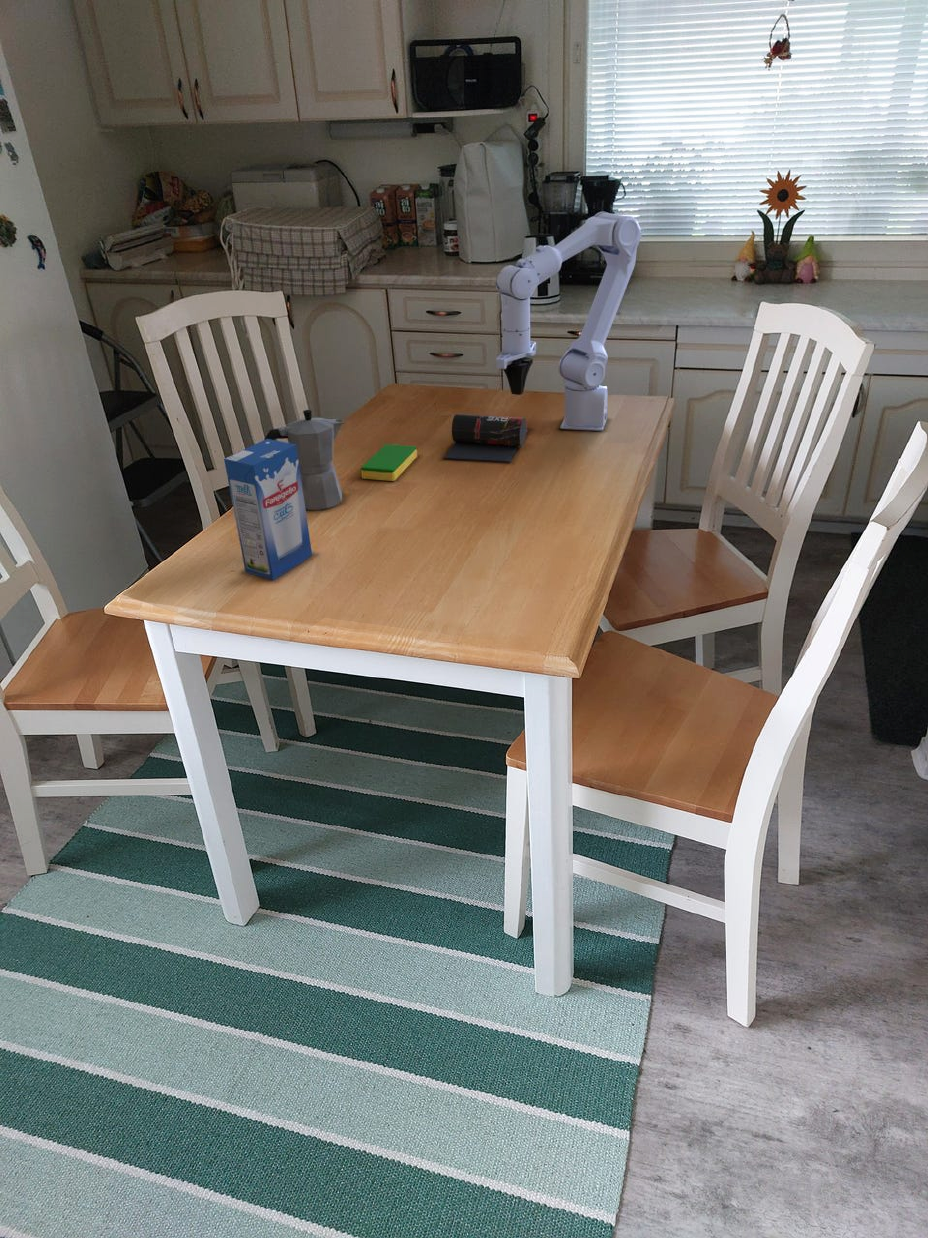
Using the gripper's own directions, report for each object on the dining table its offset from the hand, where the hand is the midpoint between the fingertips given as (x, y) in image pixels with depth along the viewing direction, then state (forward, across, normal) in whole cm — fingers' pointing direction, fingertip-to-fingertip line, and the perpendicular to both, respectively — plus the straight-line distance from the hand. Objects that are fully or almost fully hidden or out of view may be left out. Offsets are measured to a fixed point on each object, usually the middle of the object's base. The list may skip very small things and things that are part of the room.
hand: (517, 393), depth 195 cm
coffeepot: (+10, -46, +20) cm, 51 cm away
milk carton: (+10, -69, +10) cm, 70 cm away
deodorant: (+7, -3, -3) cm, 8 cm away
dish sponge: (+10, -25, +17) cm, 32 cm away
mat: (+10, -5, +5) cm, 12 cm away
